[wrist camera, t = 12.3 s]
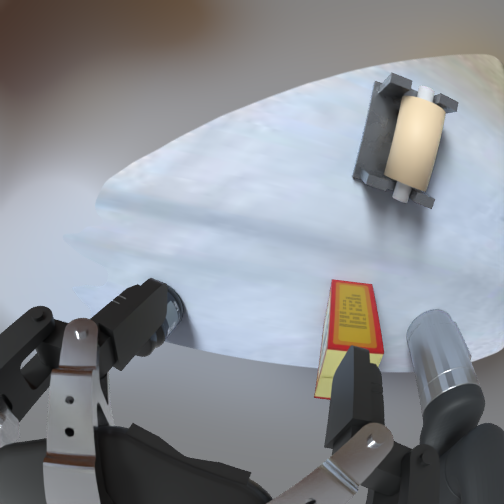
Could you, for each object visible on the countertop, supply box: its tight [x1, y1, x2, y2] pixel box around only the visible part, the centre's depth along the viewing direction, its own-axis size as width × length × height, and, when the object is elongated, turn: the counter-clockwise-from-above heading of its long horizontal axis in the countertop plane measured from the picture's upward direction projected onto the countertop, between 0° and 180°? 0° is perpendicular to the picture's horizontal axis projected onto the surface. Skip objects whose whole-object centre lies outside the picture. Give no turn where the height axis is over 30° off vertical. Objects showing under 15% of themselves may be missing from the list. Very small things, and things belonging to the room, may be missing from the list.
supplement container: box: [136, 286, 183, 357], centre depth 48 cm, size 10×10×12 cm
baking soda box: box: [314, 280, 384, 400], centre depth 36 cm, size 10×6×16 cm
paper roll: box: [384, 86, 446, 203], centre depth 26 cm, size 14×6×6 cm
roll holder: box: [352, 73, 458, 209], centre depth 27 cm, size 10×14×8 cm
